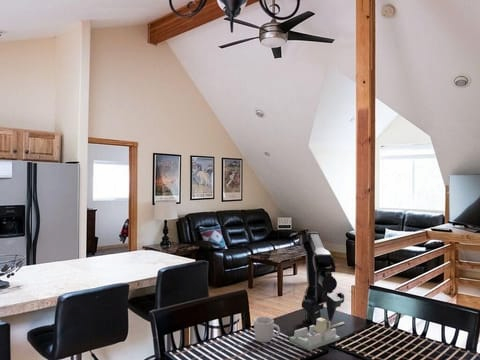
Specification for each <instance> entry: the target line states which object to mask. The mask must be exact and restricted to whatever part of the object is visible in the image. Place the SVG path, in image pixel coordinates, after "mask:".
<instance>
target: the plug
mask: <svg viewBox="0 0 480 360" xmlns="http://www.w3.org/2000/svg"><path fill="white" fill-rule="evenodd" d="M330 326H331V321H329V319H326V318H323V317H321V318H318V319H317V323H316V326H315V332H316V333H320V334H321V335H323V332H324V331H327V330H330V329H331V327H330Z"/></svg>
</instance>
